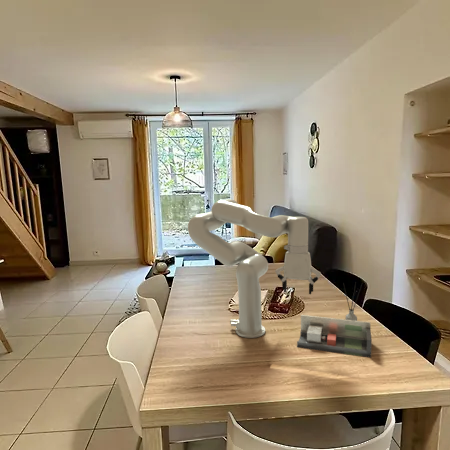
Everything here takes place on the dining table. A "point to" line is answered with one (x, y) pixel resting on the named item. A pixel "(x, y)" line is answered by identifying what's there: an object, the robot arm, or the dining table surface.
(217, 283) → the dining table surface
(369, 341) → the grey compartment tray
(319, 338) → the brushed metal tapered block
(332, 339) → the salmon pink rectangular block
